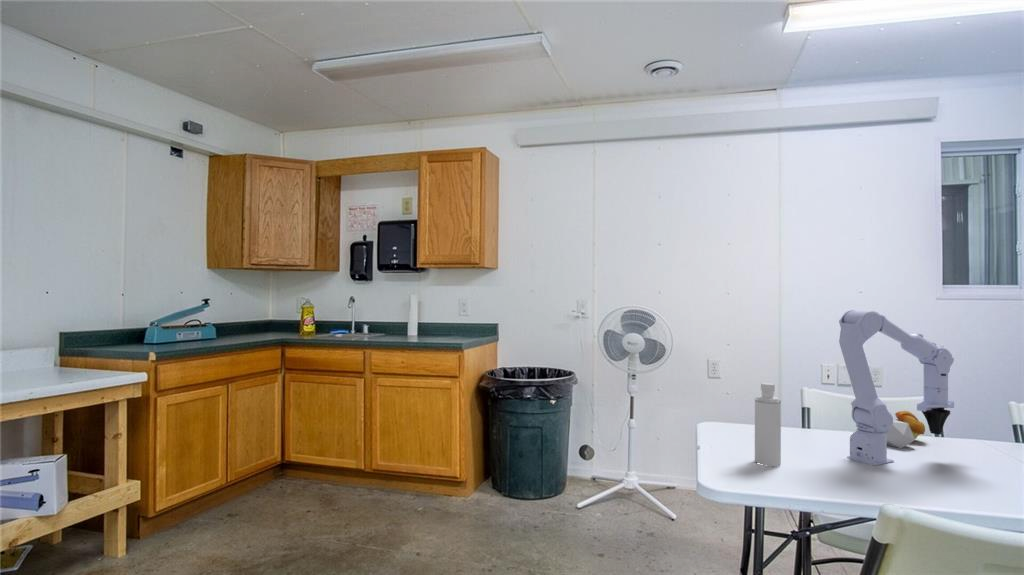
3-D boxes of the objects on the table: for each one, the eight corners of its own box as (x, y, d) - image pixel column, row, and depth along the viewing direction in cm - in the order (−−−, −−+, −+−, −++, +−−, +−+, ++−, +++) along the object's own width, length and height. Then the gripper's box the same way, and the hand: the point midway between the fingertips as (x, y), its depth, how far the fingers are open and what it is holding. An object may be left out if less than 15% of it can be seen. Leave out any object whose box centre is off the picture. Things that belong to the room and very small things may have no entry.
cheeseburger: (886, 427, 190) (902, 404, 187) (917, 448, 182) (935, 424, 179) (874, 429, 184) (890, 405, 181) (906, 450, 176) (924, 425, 173)
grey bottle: (783, 470, 148) (783, 380, 149) (757, 469, 150) (758, 379, 150) (776, 463, 155) (777, 376, 155) (752, 461, 156) (752, 375, 157)
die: (920, 451, 167) (904, 447, 177) (918, 421, 169) (903, 419, 178) (889, 448, 169) (875, 445, 179) (887, 419, 171) (874, 417, 180)
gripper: (935, 391, 153) (935, 439, 153) (965, 388, 159) (965, 434, 158) (909, 387, 159) (909, 433, 159) (938, 384, 165) (939, 429, 165)
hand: (935, 433), depth 159 cm, fingers closed
